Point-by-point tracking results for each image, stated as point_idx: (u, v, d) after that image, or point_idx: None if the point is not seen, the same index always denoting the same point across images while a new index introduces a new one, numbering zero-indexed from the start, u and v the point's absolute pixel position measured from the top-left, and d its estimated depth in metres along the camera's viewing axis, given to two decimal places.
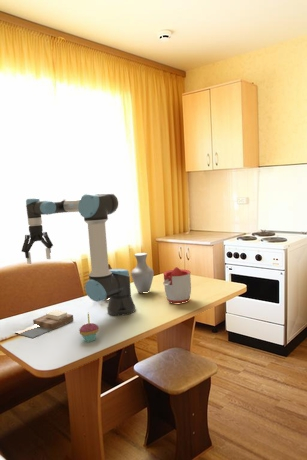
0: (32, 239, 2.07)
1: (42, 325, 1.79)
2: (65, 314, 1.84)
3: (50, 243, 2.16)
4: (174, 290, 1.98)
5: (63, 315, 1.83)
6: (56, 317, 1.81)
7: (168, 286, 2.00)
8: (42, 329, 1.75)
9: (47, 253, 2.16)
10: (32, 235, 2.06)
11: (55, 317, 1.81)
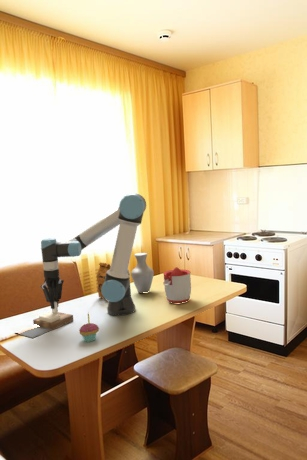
0: None
1: (42, 325, 1.79)
2: (58, 317, 1.81)
3: (59, 294, 1.86)
4: (174, 290, 1.98)
5: (56, 318, 1.80)
6: (49, 320, 1.78)
7: (168, 286, 2.00)
8: (42, 329, 1.75)
9: None
10: (47, 282, 1.80)
11: (48, 320, 1.78)
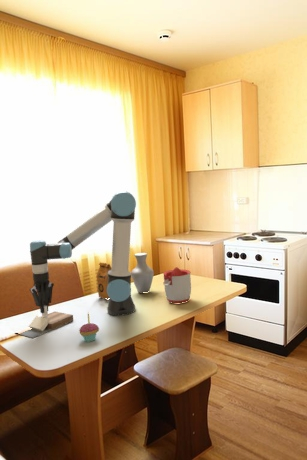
0: None
1: None
2: (47, 321, 1.75)
3: (49, 298, 1.81)
4: (174, 290, 1.98)
5: (46, 324, 1.75)
6: (40, 329, 1.73)
7: (168, 286, 2.00)
8: None
9: None
10: (37, 285, 1.74)
11: (39, 329, 1.74)
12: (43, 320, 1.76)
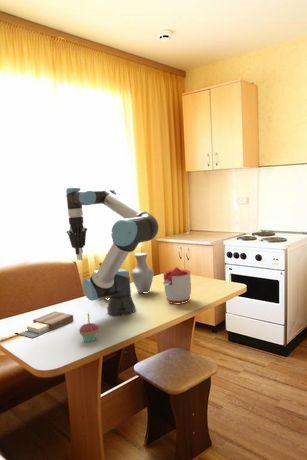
0: None
1: None
2: (47, 327, 1.75)
3: (83, 241, 1.97)
4: (174, 290, 1.98)
5: (44, 328, 1.74)
6: (37, 330, 1.72)
7: (168, 286, 2.00)
8: None
9: None
10: (73, 228, 1.90)
11: (36, 330, 1.72)
12: (43, 325, 1.76)
